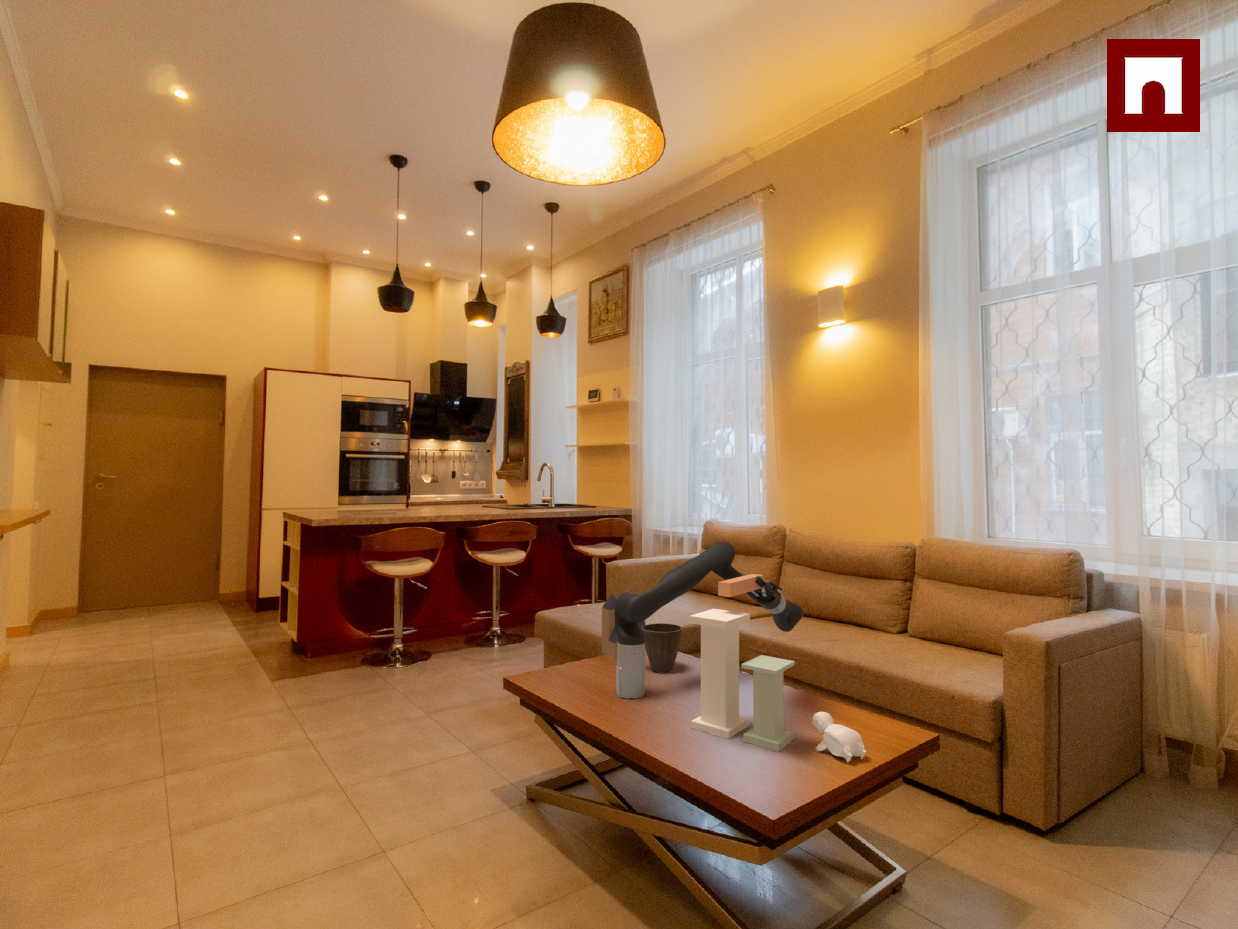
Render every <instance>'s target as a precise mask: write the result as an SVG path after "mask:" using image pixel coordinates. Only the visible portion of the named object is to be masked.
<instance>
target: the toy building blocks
mask: <svg viewBox="0 0 1238 929" xmlns="http://www.w3.org/2000/svg"><path fill="white" fill-rule="evenodd" d="M616 600H617V598H616V597H615V595H614V594H613V593H610V595H609V597H608V598H607V599H606V601H605V603H604V604H603V605H602V607H601V653H602V654H604V655H606V656H607V657H609V656H611V657H613V658H614V659H613V658H612V659H613V660H615V659H617V635H616V632H615V615H614V609H615V602H616ZM638 624H639V627H640V629H641V630H642V627H643V626H645V625H646V620H644V621H643V622H640V623H638ZM645 650H646V648H645ZM611 657H610V658H611Z"/></svg>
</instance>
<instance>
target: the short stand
mask: <svg viewBox="0 0 1238 929" xmlns="http://www.w3.org/2000/svg"><path fill="white" fill-rule="evenodd" d="M795 664H796V662H795V660H789V659H786V658H785V659H784V658H779V657H775V656H774V657H773V656H769V655H765V654H764V655H763V654H760V655H758V656H756V657H753V658H752V659H750V660H747V661H744V662H743V663H741V667H740V668H741V669H746V670H750V671H753V675H752V676H753V679H752V680H753V683H752V684H753V685H752V686H753V689H752V692H753V698H752V699H753V700H752V701H753V703H752V704H753V705H752V706H753V707H752V710H753V715H752V718H753V719H752V720H753V723H752V724H753V726H752V728H750V729H749V730H748V731H746V732H744V733H743V740H742V741H743V742H744V743H747V744H749V743H750V744H749V745H753V746H757V747H760V748H763V749H766V750H770V751H774V752H777V753H779V752H780V751H781V750H783V749H784V748H786V747H787V744H788V745H789V744H790V743H792V742H793V741H794V740H795V739H794V738H795V737H794V736H795V734H794V732H793V731H790V730H785V729H784V728H785V727H784V725H785V722H784V721H785V720H784V716H785V715H784V711H785V708H784V701H785V700H784V672H785V671H786V670H788V669H790V668H792V667H793V666H796V665H795ZM793 739H794V740H793ZM792 740H793V741H792ZM791 741H792V742H791Z"/></svg>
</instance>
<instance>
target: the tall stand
mask: <svg viewBox="0 0 1238 929" xmlns="http://www.w3.org/2000/svg"><path fill="white" fill-rule="evenodd" d="M688 620H689V623H688V624H694V625H700V716H698V717H696V718H693V719H692V720H691V721H690V728H691V729H693V730H696V731H700V732H704V733H706V732H707V734H710V735H713V736H715V737H720V738H724V739H727V740H729V739H731V738H733V737H734V736H735V735H737V734H739V733H740V732H741V731H743V730H745V729H746V728H748V727H749V724H750V722H749V720H750V719H749V718H746V717H742V716H740V625H741V624H745V623H747V622H750V621H751V613H748V612H742V611H741V612H740V611H734V610H726V609H718V608H711V609H707V610H704V611H700V612H698V613H695V614H691V615H689V619H688ZM747 726H748V727H747ZM738 732H739V733H738Z"/></svg>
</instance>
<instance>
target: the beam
mask: <svg viewBox="0 0 1238 929" xmlns="http://www.w3.org/2000/svg"><path fill="white" fill-rule="evenodd" d="M745 575H746V576H741V577H737V578H733V579H729V580H725V579H724V580H721V581H717V582H718V583H717V589H718V591H717V596H720V597H725V598H732V597H736V596H739V595H743V594H746V593H747V592H750V591H754V590H757V589H761V587H760V586H759V585H758V584H757V583H756V576H759V577H760V578H762V579H763V580H764V579H765V575H764V574H759V573H757V574H755V573H750V574H745Z"/></svg>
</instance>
